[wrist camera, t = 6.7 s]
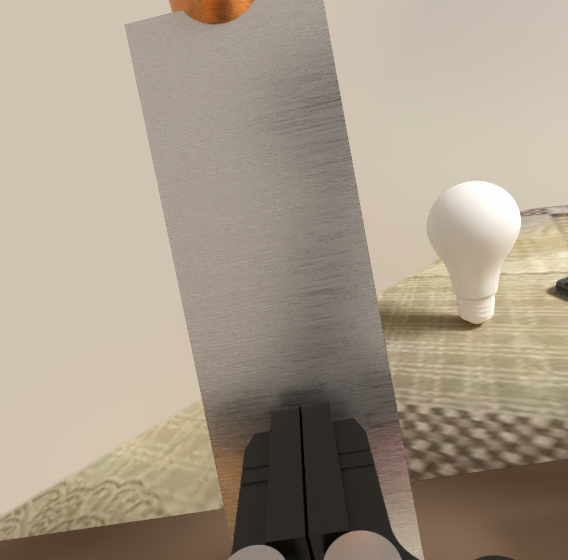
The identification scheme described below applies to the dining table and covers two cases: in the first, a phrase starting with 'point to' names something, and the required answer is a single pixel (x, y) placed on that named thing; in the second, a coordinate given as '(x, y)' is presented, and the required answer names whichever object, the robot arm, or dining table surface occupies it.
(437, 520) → the walnut panel
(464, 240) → the lightbulb
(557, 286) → the phone
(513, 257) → the dining table surface
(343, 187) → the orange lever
